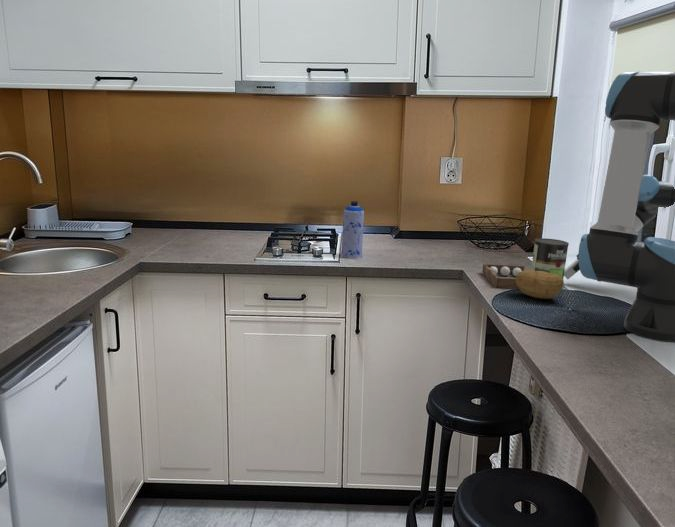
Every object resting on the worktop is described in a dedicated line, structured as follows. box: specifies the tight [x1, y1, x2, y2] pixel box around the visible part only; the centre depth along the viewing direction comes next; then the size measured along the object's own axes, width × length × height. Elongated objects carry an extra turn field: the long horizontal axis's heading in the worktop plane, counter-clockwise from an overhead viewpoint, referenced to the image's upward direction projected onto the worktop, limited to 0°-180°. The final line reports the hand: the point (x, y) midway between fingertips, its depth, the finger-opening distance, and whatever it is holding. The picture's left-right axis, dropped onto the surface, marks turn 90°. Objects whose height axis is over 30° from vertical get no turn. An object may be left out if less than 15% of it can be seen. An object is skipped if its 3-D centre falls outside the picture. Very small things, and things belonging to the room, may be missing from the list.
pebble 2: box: [500, 266, 511, 277], centre depth 210 cm, size 3×3×3 cm
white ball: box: [512, 268, 521, 277], centre depth 210 cm, size 3×3×3 cm
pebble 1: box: [490, 266, 498, 275], centre depth 210 cm, size 3×3×3 cm
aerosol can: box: [340, 200, 365, 260], centre depth 225 cm, size 8×8×20 cm
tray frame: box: [482, 263, 525, 290], centre depth 204 cm, size 19×14×3 cm
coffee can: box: [530, 237, 570, 279], centre depth 200 cm, size 10×10×14 cm
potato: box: [514, 269, 565, 300], centre depth 185 cm, size 10×14×8 cm
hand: (564, 276), depth 202 cm, fingers closed
